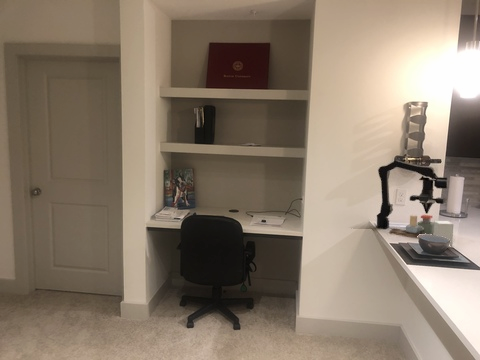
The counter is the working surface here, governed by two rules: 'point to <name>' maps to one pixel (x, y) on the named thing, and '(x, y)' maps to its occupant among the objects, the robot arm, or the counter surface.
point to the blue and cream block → (413, 225)
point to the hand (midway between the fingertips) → (426, 213)
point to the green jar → (427, 227)
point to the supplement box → (444, 229)
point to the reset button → (426, 218)
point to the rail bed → (405, 232)
